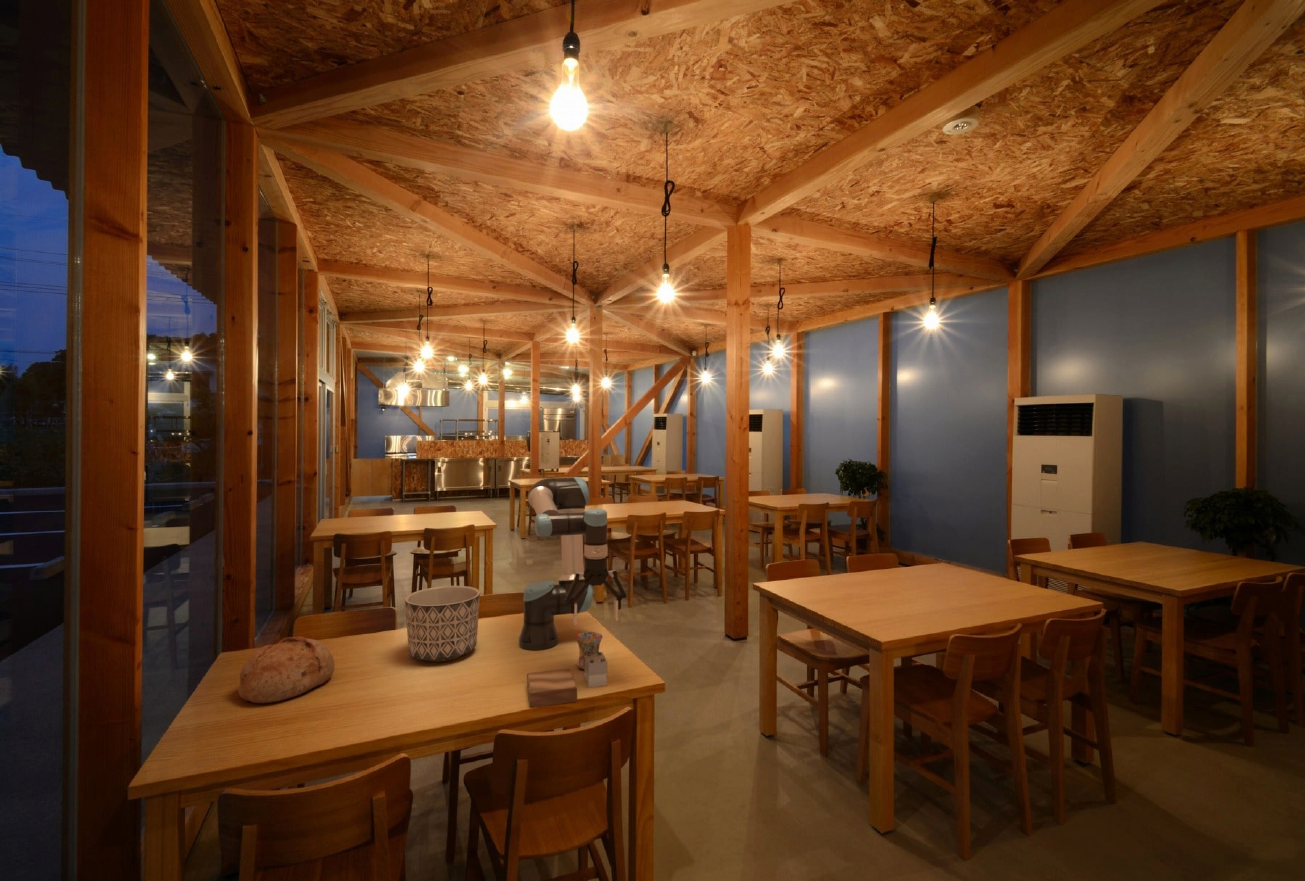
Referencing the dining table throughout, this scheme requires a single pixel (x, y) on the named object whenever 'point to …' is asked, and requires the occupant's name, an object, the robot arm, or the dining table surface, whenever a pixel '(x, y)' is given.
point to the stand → (551, 687)
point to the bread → (285, 670)
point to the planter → (442, 622)
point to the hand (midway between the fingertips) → (595, 621)
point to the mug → (587, 645)
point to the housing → (595, 670)
